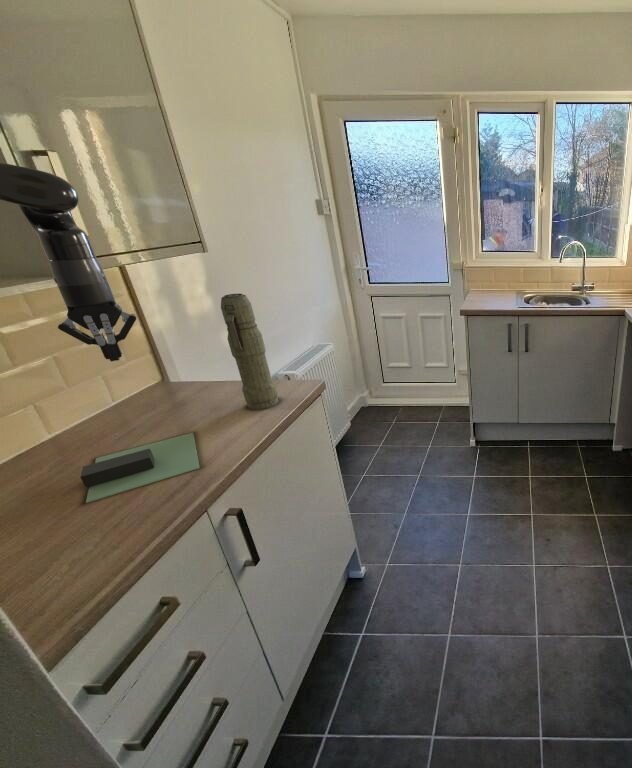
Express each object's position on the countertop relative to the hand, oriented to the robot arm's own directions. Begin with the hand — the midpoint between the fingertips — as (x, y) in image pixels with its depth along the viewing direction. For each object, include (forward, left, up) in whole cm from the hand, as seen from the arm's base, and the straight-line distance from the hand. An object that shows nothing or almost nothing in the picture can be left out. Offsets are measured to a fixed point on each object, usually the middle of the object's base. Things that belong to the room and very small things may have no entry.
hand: (115, 359), depth 92 cm
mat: (-2, 0, -27) cm, 27 cm away
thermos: (+27, +19, -27) cm, 43 cm away
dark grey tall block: (0, -2, -25) cm, 25 cm away
